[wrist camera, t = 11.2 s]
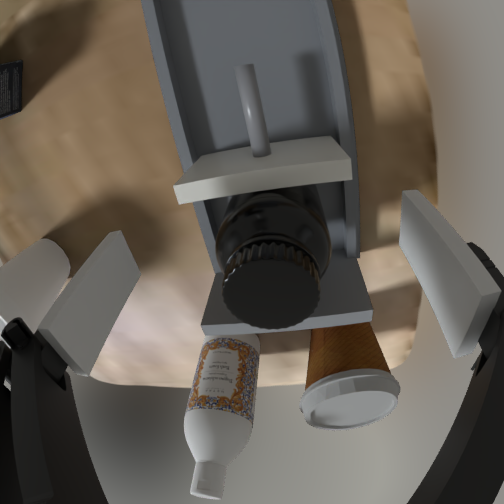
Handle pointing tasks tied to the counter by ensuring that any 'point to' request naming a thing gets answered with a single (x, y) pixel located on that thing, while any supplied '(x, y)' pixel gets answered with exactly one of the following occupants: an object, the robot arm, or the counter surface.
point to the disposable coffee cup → (347, 379)
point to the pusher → (262, 157)
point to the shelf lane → (276, 117)
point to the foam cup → (32, 283)
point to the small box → (10, 88)
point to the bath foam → (221, 408)
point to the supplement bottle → (273, 255)
